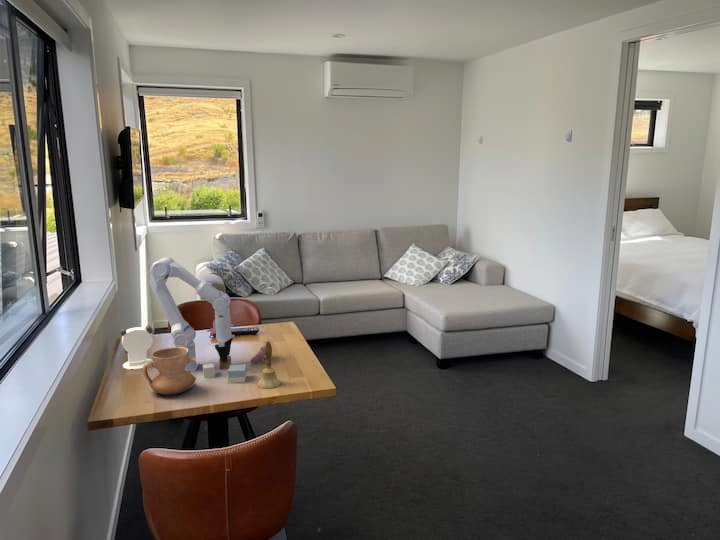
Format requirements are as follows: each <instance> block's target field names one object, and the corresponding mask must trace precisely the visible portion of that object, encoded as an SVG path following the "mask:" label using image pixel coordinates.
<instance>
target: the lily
mask: <svg viewBox="0 0 720 540" xmlns="http://www.w3.org/2000/svg"><path fill="white" fill-rule="evenodd" d="M212 322H213V323H212V327H211V328H209V329H208V330H206V332H208V333H210V334H209V337H211V336H213V335H214V334H216V324H215V319H214V320H213V321H212ZM232 327H234V324H232V323H231V328H232ZM214 336H215V335H214ZM214 336H213V337H214ZM209 337H208V338H209ZM211 338H212V337H211Z"/></svg>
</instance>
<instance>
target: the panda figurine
mask: <svg viewBox="0 0 720 540" xmlns="http://www.w3.org/2000/svg"><path fill="white" fill-rule="evenodd" d="M153 332H154V330H153V328H152V326H151V325H146V326H145V328H144V327H138V326H136V327H131V328H128V329H126V328H121V329H120V334H121V336H122V337H121V344H122V347H123V349H124V350H125V354H126V355H127V359H128V360H127V361H125V362H124V363H123V364H122V368H123V369H125V370H131V369H134V370H141V369H142V370H143V366H144V365H145V364H146V363H147V362H153V359H151V358H147V356H148V355H147V354H148V350H149V349H151V347H152V345H153V342H154V341H153V337H152V335H151V334H153ZM149 367H150V366H148V367H147V368H149Z"/></svg>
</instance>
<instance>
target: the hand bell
mask: <svg viewBox="0 0 720 540" xmlns="http://www.w3.org/2000/svg"><path fill="white" fill-rule="evenodd" d="M264 346H265V356H266V358H265V360H266V361H265V363H266V365H265V368H264V369H263V370H262V374H261V378H260V380H259V381H258V382H257V386H258V387H259V388H260V387H261V389H274V388H278V387H279V386H281V384H282V382H281V380H279V378H278V377H277V374H276V369H275V368H273V367H272V360H271V359H272V358H271V357H272V355H273V347H272V344H271V342H270V341H266V342H265V345H264Z"/></svg>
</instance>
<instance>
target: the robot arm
mask: <svg viewBox="0 0 720 540" xmlns="http://www.w3.org/2000/svg"><path fill="white" fill-rule="evenodd" d="M149 275H150V276H149V287H150V289H151V291H152V293H153V294H154V297H155V298H156V300H157V302H158V304H159V307H160V308H161V310H162V311H163V314H164V316H165V317H166V319H167V322H168V323H169V325H170V327H171V328H170V329H171V330H170V332H171V336H172V338H173V339H172V340H173V341H172V343H173V345H174V347H184V348H187V349H188V351H189V355H188V358H196V359H197V355H196V343H195V341H194V340H195V338H196V337H197V335H196V331H195V329H194V327H192V326H190V324H189V322H188V321H186V320H185V319H184V317H183V315H182V313H181V311H180V309H179V308H178V305H177V304H176V302H175V300H174V298H173V296H172V294H171V292H170V290H169V287H168V286H167V284H166V283H167V281H168V279H169V278H178V279H180V280H182V281H183V282H185V283H186V284H188V285H189V286H191V287H192V288H194V289H195V291H196V294H197V295H198V296H199V297H201V298H202V299H203V300H204V301H206V302H208V303H209V304H211V305H212V308H213V309H214V320H215V324H216V335H215V340H216V341H217V343H218V344H217V343H216V344H215V345H214V349H215V350H216V352H217V354H218V356H219V359H220V360H221V362H227V358H228V356H230V353H231V346H232V342H233V340H234V338H235V334H232V327H231V324H232V322H231V312H230V311H231V309H230V305H231V297H230V296H229V294H227V293H226V292H223V291H222V290H218V289H217V288H216V287H215V286H213V283H212V282H208V281H201V280H200V279H199V278H197V277H196V276H195V275H194V274H193V273H191V272H190V271H188V269H186V268H185V267H184V266H182V264H181V263H180V262H178V261H176V260H174V259H173V258H172V257H170V256H163V257H162V258H161V259H159V260H157V261H154V262H153V264H151V266H150V269H149ZM172 347H173V346H171V347H170V348H172ZM199 364H200V363H199V362H197V360H196V361H195V362H193V361H192V362H189V363H188V364H187V365H186V366H185V369H184V370H186V371H188V372H195V371H196V370H197V368H198V366H199Z"/></svg>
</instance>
